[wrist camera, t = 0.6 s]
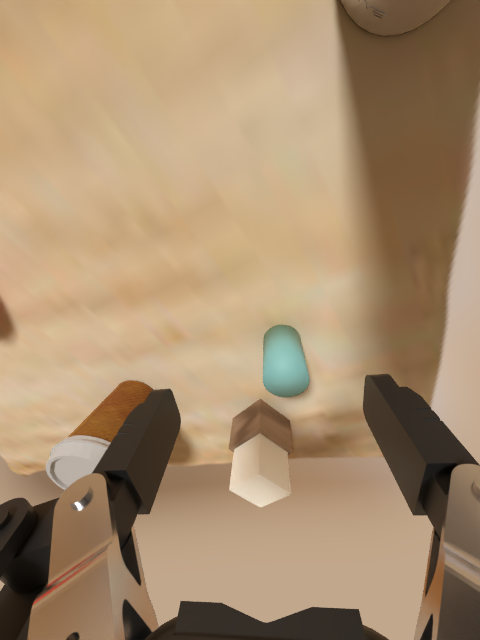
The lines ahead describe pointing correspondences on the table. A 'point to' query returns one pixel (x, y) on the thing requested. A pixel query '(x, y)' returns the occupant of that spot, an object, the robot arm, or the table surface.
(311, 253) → the table surface
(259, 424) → the walnut base block
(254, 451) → the cream block
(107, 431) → the disposable coffee cup
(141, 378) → the table surface
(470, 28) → the table surface
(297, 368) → the teal capsule
